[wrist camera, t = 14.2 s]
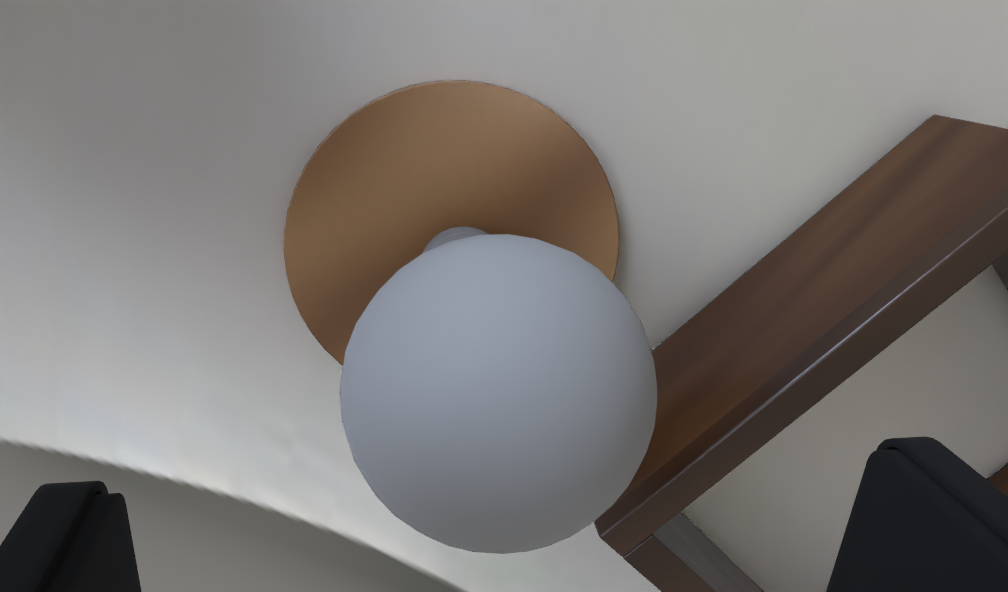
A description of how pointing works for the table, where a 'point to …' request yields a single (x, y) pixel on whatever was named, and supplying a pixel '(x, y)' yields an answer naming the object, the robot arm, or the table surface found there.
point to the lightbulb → (498, 392)
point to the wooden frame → (808, 333)
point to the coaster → (436, 193)
